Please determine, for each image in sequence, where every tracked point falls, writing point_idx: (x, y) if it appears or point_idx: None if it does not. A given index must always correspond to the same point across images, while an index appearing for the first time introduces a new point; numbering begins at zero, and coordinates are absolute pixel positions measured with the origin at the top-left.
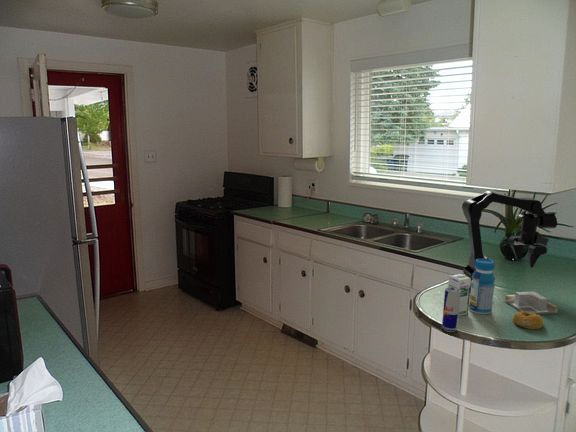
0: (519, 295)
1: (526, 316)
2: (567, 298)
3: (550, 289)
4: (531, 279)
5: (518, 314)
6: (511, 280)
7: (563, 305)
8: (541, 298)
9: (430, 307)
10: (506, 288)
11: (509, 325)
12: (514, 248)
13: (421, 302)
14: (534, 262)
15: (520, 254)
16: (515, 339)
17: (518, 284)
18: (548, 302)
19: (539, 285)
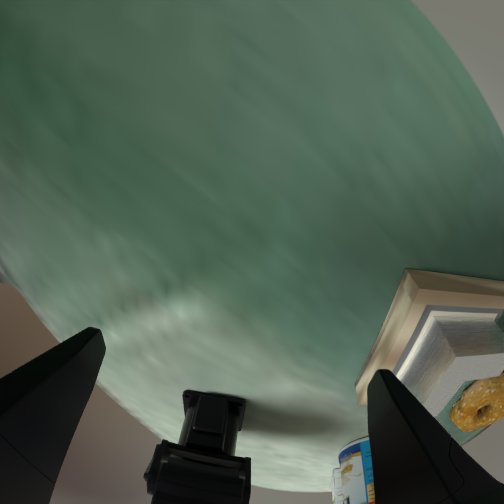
0: (432, 413)
1: (488, 424)
2: (437, 54)
3: (277, 10)
4: (86, 22)
5: (470, 431)
6: (80, 155)
7: (494, 176)
8: (501, 369)
9: (302, 486)
10: (203, 279)
11: (453, 424)
12: (48, 494)
13: (271, 487)
14: (422, 424)
15: (54, 389)
16: (480, 429)
17: (145, 157)
18: (498, 302)
19: (188, 28)
